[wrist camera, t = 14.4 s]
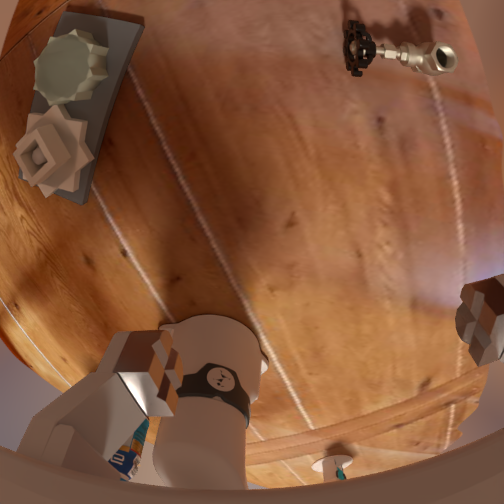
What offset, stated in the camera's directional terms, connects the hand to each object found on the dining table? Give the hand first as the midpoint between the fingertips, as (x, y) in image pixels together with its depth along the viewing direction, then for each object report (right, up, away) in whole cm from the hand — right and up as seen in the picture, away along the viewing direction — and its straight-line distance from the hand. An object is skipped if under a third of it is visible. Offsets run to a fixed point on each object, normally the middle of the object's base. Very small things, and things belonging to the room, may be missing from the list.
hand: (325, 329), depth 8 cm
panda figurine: (+20, -56, +64) cm, 87 cm away
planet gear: (-27, +15, +26) cm, 41 cm away
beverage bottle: (-29, -35, +54) cm, 70 cm away
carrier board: (-25, +21, +25) cm, 41 cm away
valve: (+14, +25, +22) cm, 37 cm away
